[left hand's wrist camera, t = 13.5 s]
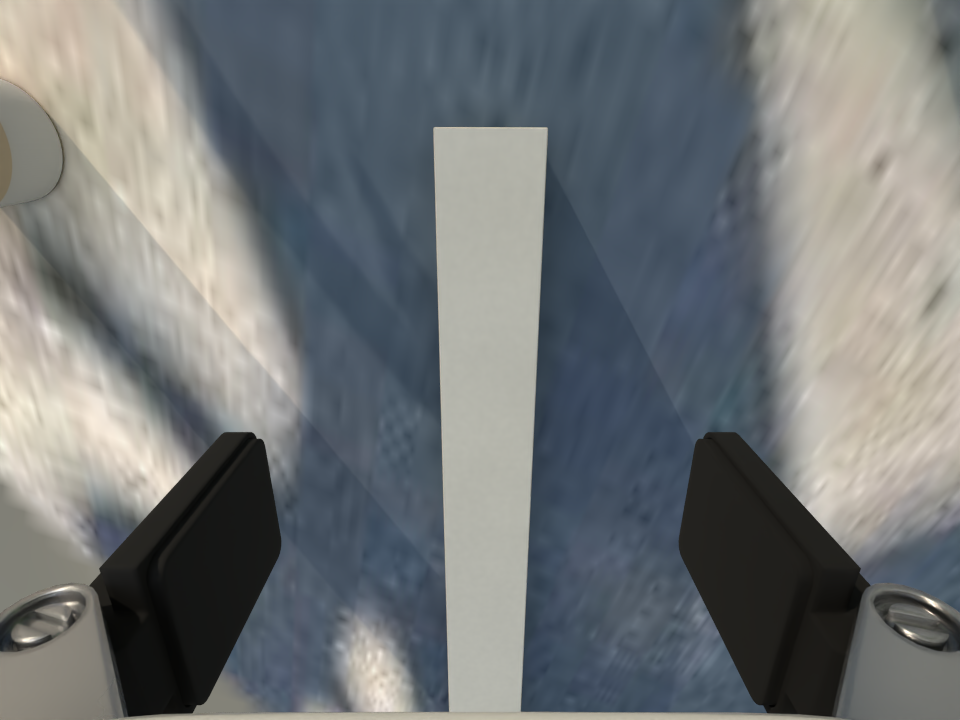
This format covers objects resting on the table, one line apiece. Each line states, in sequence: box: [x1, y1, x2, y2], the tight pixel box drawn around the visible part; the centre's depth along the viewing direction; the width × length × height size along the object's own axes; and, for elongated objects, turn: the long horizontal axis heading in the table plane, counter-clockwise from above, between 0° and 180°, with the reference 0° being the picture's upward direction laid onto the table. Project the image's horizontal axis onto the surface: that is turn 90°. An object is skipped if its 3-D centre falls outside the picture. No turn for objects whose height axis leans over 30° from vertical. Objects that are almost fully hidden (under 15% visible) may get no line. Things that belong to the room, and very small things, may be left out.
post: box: [433, 127, 548, 712], centre depth 41 cm, size 73×6×7 cm, turn 0°
